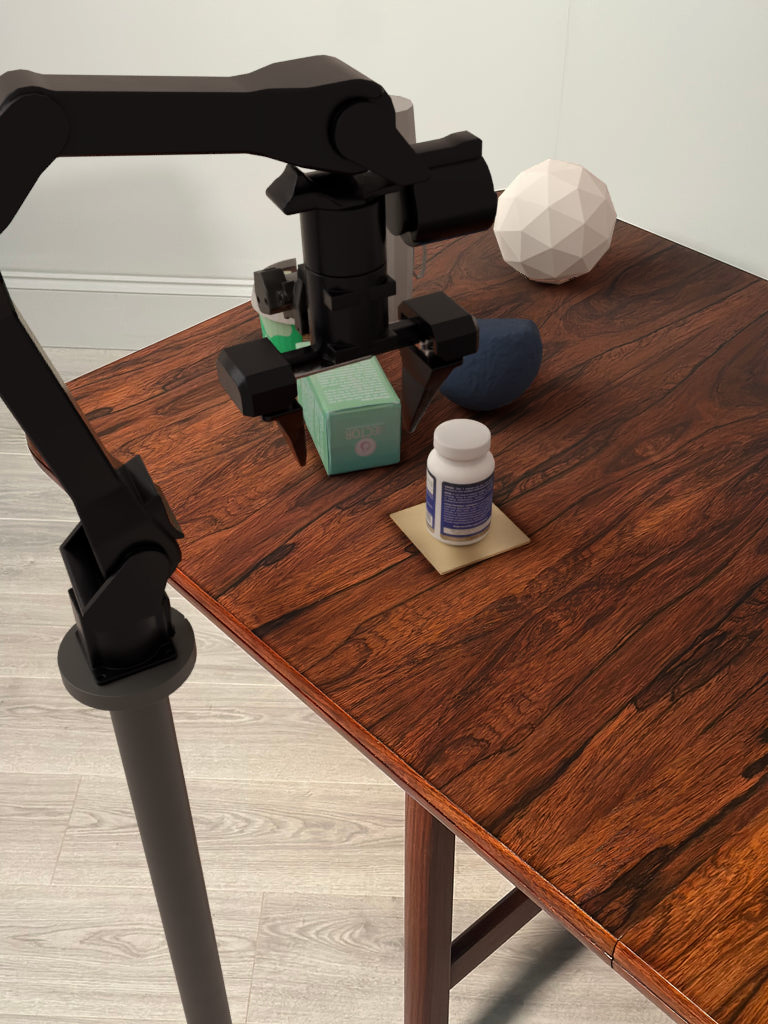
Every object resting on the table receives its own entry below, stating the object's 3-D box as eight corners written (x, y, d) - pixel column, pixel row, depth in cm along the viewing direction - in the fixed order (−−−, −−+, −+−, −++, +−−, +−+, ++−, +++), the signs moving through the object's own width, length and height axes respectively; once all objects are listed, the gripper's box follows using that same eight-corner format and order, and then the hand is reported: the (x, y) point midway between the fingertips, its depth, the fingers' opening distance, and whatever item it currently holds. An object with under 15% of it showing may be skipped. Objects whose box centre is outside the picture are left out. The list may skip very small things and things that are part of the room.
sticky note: (441, 575, 87) (441, 572, 87) (389, 516, 93) (389, 514, 93) (530, 542, 90) (530, 540, 90) (475, 488, 97) (475, 485, 97)
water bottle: (366, 344, 118) (362, 119, 103) (340, 314, 124) (333, 97, 108) (438, 328, 121) (446, 107, 106) (410, 300, 127) (413, 86, 111)
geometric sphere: (516, 317, 134) (449, 223, 128) (579, 243, 139) (517, 149, 133) (594, 302, 122) (524, 198, 116) (659, 221, 127) (596, 118, 121)
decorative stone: (556, 422, 105) (566, 334, 99) (444, 441, 103) (447, 351, 97) (512, 365, 114) (519, 281, 108) (409, 381, 112) (410, 296, 106)
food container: (246, 345, 118) (238, 263, 112) (299, 337, 119) (294, 255, 113) (270, 401, 109) (263, 314, 103) (327, 391, 110) (323, 305, 104)
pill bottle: (503, 524, 92) (511, 429, 86) (465, 557, 88) (471, 461, 82) (450, 499, 95) (454, 406, 89) (412, 530, 91) (413, 436, 85)
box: (327, 479, 98) (325, 411, 93) (296, 406, 108) (292, 341, 103) (402, 467, 99) (403, 399, 95) (364, 395, 110) (363, 331, 105)
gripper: (411, 192, 80) (413, 368, 90) (177, 244, 74) (206, 428, 83) (486, 246, 72) (479, 433, 82) (231, 310, 66) (257, 504, 75)
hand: (355, 446), depth 81 cm, fingers open, 9 cm apart
